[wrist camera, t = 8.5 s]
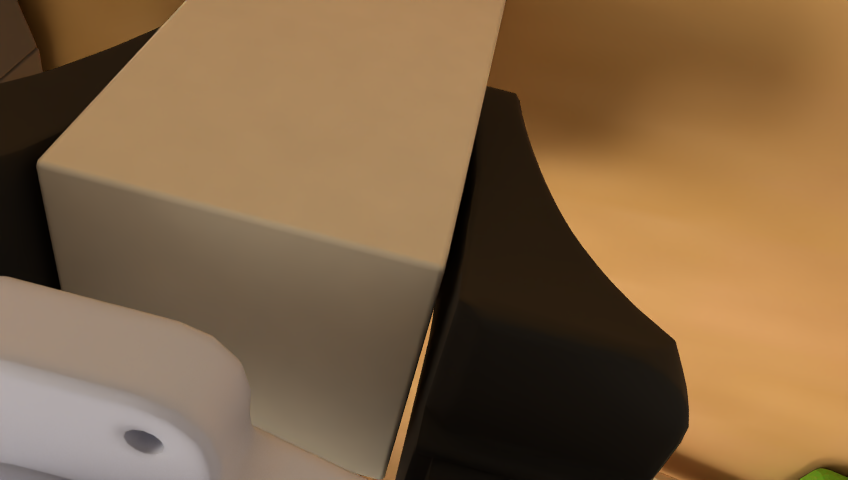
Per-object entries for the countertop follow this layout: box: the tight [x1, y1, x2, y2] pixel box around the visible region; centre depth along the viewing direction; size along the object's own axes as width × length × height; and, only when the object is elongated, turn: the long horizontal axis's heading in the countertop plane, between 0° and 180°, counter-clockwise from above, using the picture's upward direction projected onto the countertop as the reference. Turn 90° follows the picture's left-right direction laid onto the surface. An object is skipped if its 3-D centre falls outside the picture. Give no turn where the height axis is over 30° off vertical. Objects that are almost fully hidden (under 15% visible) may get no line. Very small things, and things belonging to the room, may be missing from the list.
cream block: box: [36, 0, 506, 480], centre depth 12 cm, size 4×4×8 cm
